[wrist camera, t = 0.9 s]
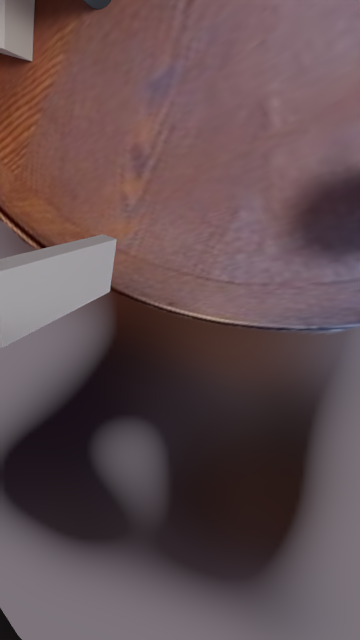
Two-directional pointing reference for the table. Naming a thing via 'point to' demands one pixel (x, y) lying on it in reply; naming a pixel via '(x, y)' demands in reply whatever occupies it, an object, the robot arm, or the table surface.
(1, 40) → the socket
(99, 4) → the peg
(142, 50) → the table surface
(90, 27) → the table surface
